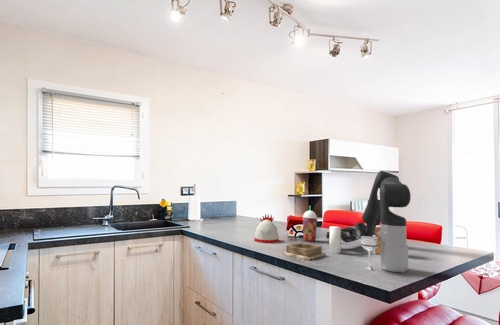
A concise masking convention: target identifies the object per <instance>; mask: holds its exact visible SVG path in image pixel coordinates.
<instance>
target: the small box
mask: <svg viewBox="0 0 500 325" xmlns="http://www.w3.org/2000/svg"><path fill="white" fill-rule="evenodd" d="M374 237H377V238H379V239H378V242H379V245H378V247H377V248H376V249H375V250H374V254H375V255H380V256H381V225H379V224H378V225H376V226H374Z"/></svg>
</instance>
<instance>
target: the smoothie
mask: <svg viewBox="0 0 500 325" xmlns="http://www.w3.org/2000/svg"><path fill="white" fill-rule="evenodd" d="M308 208H309V209H308V210H306V211H304V213H303V215H302V230H303V231H302V236H303V239H304V241H305V242H308V243H314V242H315V241H316V239H317V227H318V226H317V225H318V216H317V214H316V212H315V211H313V210H311V205H309V206H308Z"/></svg>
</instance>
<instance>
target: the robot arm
mask: <svg viewBox="0 0 500 325" xmlns="http://www.w3.org/2000/svg"><path fill="white" fill-rule="evenodd" d="M378 191H379V197H378ZM411 196H412V195H411V191H410V188H409V187H408V186H407V184H405V183H402V182H401V181H400V178H399V176H398V175H396V174H393V173H390V172H387V171H384V170H380V171H378V173H377V174H376V176H375V178H374V180H373V184H372V187H371V191H370V195H369V198H368V201H367V204H366V207H365V210H364V212H363V214H362V217H361V220H362V221H363V222H360V221H359V222H357V223H356V224H355V225H353V226H346V227H341V241H342V242H343V243H351V242H355V241H358V240H361V236H373V237H374V234H375V224H376V220H377V218H378V216H379V214H380V225H379V226H381V255H380V268H381V269H382V270H384V271H387V272H393V273H403V274H404V273H406V272H407V271H409V245H408V244H407V219H406V218H405V217H404V216H402V215H401V216H400V215H398V214H395V213H394V212H392V211H391V210H390V208H406V207H408V205H409V204H410V202H411ZM364 223H365V224H364ZM325 236H326V239H329V238H330V231H327V232H326V235H325Z"/></svg>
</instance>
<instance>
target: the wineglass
mask: <svg viewBox="0 0 500 325" xmlns="http://www.w3.org/2000/svg"><path fill="white" fill-rule="evenodd" d="M378 239H379V238H377V237H375V236H374V235H373V236H361V238H360V246H361V247H362V248H363V249H364V250H365V251H366V252H368V265H367V266H363V267H362V269H364V270H367V271H377V268H376V267H372V266H371V253H372V252H373V251H375V249H376V248H377V247H378V245H379V242H378Z"/></svg>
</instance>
